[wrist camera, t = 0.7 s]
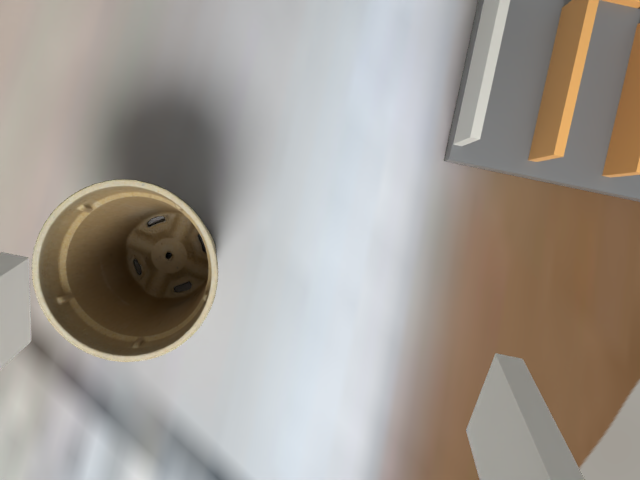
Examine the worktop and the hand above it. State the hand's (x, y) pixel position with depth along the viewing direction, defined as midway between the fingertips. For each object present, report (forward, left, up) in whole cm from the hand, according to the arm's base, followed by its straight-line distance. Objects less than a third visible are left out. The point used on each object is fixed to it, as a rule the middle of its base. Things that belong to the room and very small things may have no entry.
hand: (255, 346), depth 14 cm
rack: (-15, +17, -21) cm, 31 cm away
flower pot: (+1, -8, -21) cm, 22 cm away
